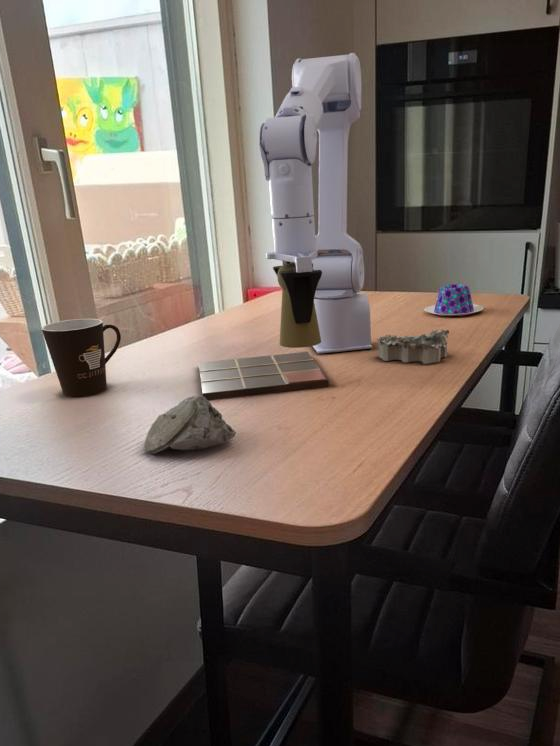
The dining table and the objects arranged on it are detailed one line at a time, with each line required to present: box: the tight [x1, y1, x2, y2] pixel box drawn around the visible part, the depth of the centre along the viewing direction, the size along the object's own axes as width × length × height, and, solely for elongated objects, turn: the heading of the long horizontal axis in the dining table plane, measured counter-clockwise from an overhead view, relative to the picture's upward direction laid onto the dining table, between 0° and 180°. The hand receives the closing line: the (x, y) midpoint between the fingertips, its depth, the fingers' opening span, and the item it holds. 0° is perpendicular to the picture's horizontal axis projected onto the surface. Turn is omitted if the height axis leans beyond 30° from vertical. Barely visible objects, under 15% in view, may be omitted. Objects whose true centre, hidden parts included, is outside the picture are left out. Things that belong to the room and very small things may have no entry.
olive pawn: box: [276, 263, 321, 349], centre depth 98 cm, size 6×6×11 cm
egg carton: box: [376, 329, 450, 365], centre depth 112 cm, size 11×8×4 cm
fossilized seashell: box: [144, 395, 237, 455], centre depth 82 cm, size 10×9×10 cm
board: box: [198, 351, 330, 401], centre depth 107 cm, size 18×18×1 cm
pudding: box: [424, 283, 485, 317], centre depth 143 cm, size 12×12×5 cm
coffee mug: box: [40, 318, 122, 398], centre depth 105 cm, size 12×9×10 cm
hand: (299, 319), depth 99 cm, fingers closed on olive pawn, 5 cm apart
